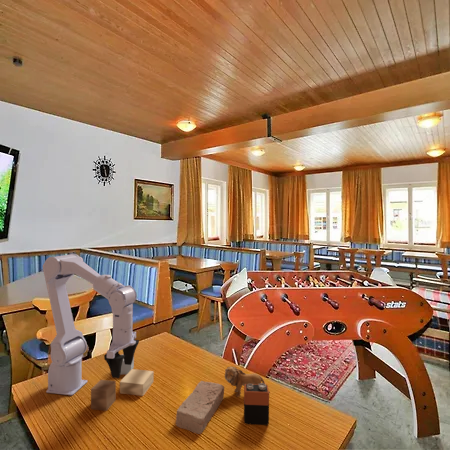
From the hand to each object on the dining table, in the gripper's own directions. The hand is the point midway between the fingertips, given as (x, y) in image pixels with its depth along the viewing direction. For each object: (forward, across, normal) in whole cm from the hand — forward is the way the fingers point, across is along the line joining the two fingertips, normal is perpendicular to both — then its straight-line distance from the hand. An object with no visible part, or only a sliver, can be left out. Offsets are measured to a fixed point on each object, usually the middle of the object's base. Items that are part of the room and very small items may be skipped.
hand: (122, 370), depth 88 cm
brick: (+10, -1, -25) cm, 27 cm away
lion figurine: (+10, +9, -38) cm, 40 cm away
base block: (+10, +8, -1) cm, 12 cm away
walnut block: (+10, -2, +5) cm, 11 cm away
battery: (+9, -2, -41) cm, 42 cm away
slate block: (+10, +17, +8) cm, 21 cm away
